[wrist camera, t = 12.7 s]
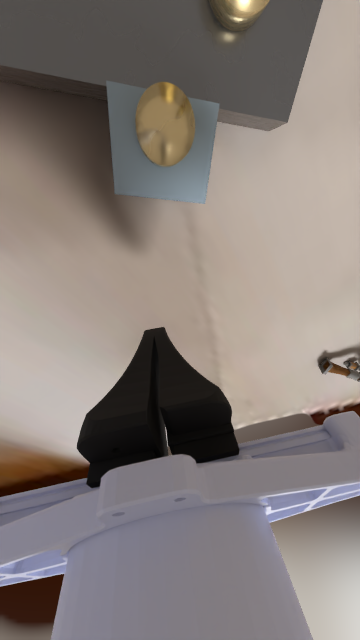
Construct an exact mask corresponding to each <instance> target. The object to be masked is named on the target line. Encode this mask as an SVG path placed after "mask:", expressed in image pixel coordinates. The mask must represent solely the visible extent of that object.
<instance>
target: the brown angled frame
mask: <svg viewBox="0 0 360 640" xmlns="http://www.w3.org/2000/svg"><path fill="white" fill-rule="evenodd" d="M344 365H345V366H346V367H347V368H348V369H346V368H343V367H341V366H339V365H336V364H334V363H332V362H330V360H329V358H327V357H326V359H325V360H324V361H323V363H322V364H321V365H320V366H319V368H320V370H321V372H322V374H326V373H327V372H331V373H336V374H341V375H345V376H346V377H347V378H351V379H354V380H355V381H356V380H357V381H358V382H360V372H359V373H358V371H357V370H359V371H360V366H359V364H358V363H357V362H355V363H354V362H351V361H349V362H344ZM349 368H350V369H349ZM352 369H353V370H352Z"/></svg>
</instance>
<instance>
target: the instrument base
mask: <svg viewBox="0 0 360 640" xmlns="http://www.w3.org/2000/svg"><path fill="white" fill-rule="evenodd" d="M322 2H323V0H0V81H5V82H10V83H15V84H21V85H26V86H31V87H37V88H42V89H47V90H53V91H58V92H63V93H69V94H74V95H79V96H85V97H90V98H95V99H101V100H106V101H108V98H107V85H106V80H107V81H112V82H117V83H122V84H126V85H131V86H136V87H141V88H146V89H147V88H149V87H150V86H151V85H153V84H155V83H158V82H168V83H172V84H174V85H176V86H177V87H178V88H180V89H181V90H182V91H183V92H184V94H185V95H186V96H187V97H190V98H195V99H200V100H204V101H209V102H214V103H219V111H218V118H217V121H218V122H223V123H228V124H234V125H239V126H244V127H250V128H255V129H260V130H266V131H270V130H272V129H275V128H277V127H279V126H281V125H283V124H285V123H287V122H288V119H289V115H290V112H291V109H292V105H293V102H294V98H295V95H296V91H297V88H298V84H299V81H300V78H301V74H302V71H303V67H304V64H305V60H306V57H307V53H308V50H309V47H310V43H311V40H312V36H313V33H314V29H315V26H316V22H317V19H318V15H319V12H320V9H321V5H322Z"/></svg>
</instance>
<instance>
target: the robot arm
mask: <svg viewBox="0 0 360 640" xmlns="http://www.w3.org/2000/svg"><path fill="white" fill-rule="evenodd" d="M231 416H232V410H231V406H230V404H229V402H228V400H227V398H226V397H225V395H224V394H223V392H222V391H221V390H220V388H219V387H218V386H216V385H215V384H213V383H212V382H210V381H209V380H207V379H206V378H205V377H203V376H202V375H201V374H200V373H198V372H197V371H196V370H195V369H194V368H193V367H192V366H191V365H190V364H188V363H187V361H186V360H185V359H184V358H183V357H182V356H181V355H180V353H179V352H178V351H177V350H176V348H175V347H174V345H173V344H172V342H171V341H170V339H169V337H168V335H167V333H166V330H165V328H164V327H161V328H155V329H150V330H145V331H144V334H143V337H142V340H141V342H140V345H139V347H138V349H137V351H136V353H135V355H134V357H133V359H132V361H131V363H130V364H129V366H128V368H127V369H126V371H125V372H124V374H123V375H122V376H121V378H120V379H119V380H118V382H117V383H116V384H115V386H114V387H113V388H112V389H111V390H110V391H109V392H108V394H107V395H106V396H105V397H104V398H103V399H102V400H101V401H100V402H99V403H98V404H97V405H96V406H95V407H94V408H93V409H92V410H90V411H89V412H88V413H87V414H86V417H85V419H84V422H83V425H82V427H81V431H80V435H79V439H78V443H77V449H78V451H79V452H80V454H81V455H82V456H83V457H84V458H85V459H86V460H87V461H88V462H89V463H90V466H89V472H88V477H87V478H85V479H80V480H76V481H71V482H67V483H63V484H58V485H54V486H49V487H45V488H40V489H36V490H31V491H27V492H23V493H18V494H14V495H9V496H5V497H0V586H4V585H9V584H14V583H19V582H24V581H28V580H33V579H39V578H43V577H49V576H54V575H59V574H64V573H65V574H64V579H63V584H62V588H61V593H60V599H59V603H58V608H57V613H56V617H55V622H54V627H53V632H52V637H51V640H313V638H312V636H311V633H310V630H309V628H308V625H307V623H306V619H305V617H304V614H303V612H302V609H301V606H300V604H299V601H298V598H297V596H296V593H295V590H294V588H293V585H292V582H291V580H290V577H289V574H288V572H287V569H286V566H285V563H284V561H283V558H282V555H281V553H280V550H279V547H278V544H277V542H276V539H275V536H274V534H273V531H272V528H271V526H270V522H273V521H276V520H280V519H283V518H286V517H289V516H292V515H296V514H299V513H302V512H305V511H308V510H312V509H315V508H318V507H321V506H324V505H328V504H331V503H335V502H338V501H341V500H345V499H348V498H352V497H355V496H359V495H360V417H359V416H358V415H357V414H356V413H355V412H354V411H349V412H345V413H340V414H336V415H332V416H330V417H328V418H327V419H326V420H325V421H324V423H323V425H321V426H316V427H312V428H307V429H303V430H299V431H295V432H290V433H285V434H281V435H276V436H273V437H268V438H263V439H259V440H254V441H250V442H246V443H241V444H238V443H237V441H236V438H235V435H234V429H233V426H232V423H231ZM165 427H166V430H167V440H168V446H169V447H170V450H171V453H172V455H170V456H169V455H168V449H167V440H166V431H165Z"/></svg>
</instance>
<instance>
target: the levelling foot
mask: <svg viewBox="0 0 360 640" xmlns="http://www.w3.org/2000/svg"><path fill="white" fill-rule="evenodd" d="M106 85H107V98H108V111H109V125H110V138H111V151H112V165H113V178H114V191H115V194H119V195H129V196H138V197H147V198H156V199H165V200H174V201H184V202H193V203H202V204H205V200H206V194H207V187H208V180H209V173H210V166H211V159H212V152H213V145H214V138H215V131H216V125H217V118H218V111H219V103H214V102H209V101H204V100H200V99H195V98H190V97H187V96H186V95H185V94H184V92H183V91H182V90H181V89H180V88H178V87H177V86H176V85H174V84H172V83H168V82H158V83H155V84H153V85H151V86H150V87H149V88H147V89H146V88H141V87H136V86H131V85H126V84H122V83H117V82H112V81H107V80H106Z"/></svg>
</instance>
